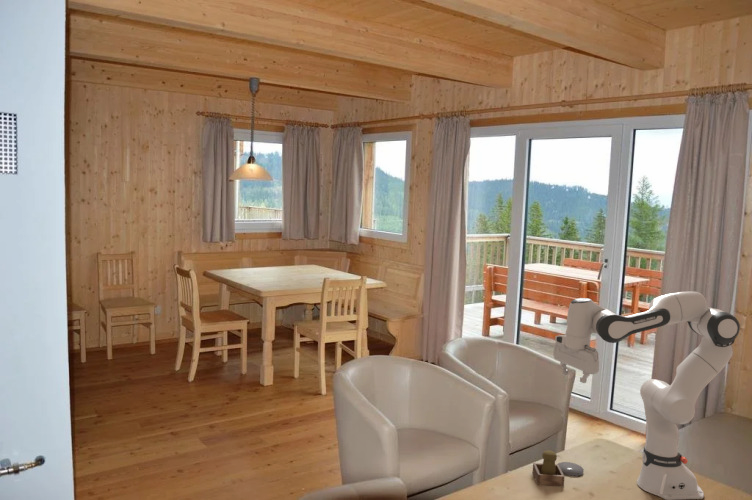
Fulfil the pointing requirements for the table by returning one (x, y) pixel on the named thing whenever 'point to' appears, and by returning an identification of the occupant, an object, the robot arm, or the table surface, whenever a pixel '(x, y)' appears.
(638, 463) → the table surface
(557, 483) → the walnut holder
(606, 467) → the table surface
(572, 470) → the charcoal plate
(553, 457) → the cork
